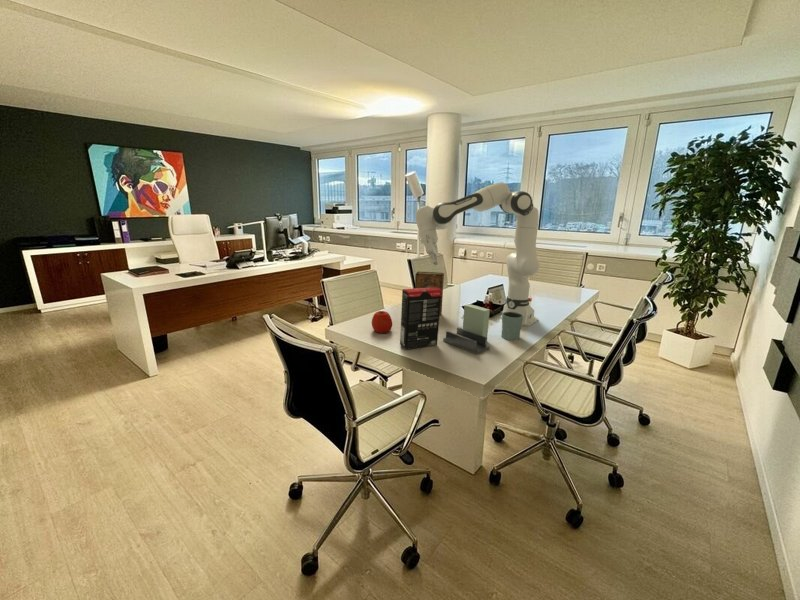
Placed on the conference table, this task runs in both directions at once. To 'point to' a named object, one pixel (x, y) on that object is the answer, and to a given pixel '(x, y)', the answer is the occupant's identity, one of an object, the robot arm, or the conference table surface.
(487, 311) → the green upright rectangular block
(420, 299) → the graphics card box
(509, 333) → the green embossed cup
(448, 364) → the conference table surface
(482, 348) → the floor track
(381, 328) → the apple
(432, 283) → the book
